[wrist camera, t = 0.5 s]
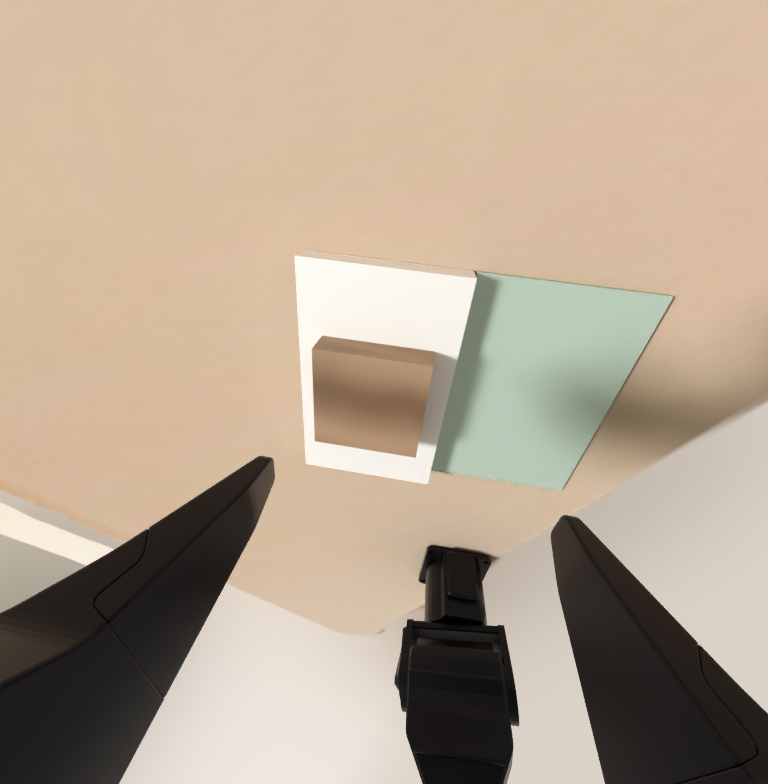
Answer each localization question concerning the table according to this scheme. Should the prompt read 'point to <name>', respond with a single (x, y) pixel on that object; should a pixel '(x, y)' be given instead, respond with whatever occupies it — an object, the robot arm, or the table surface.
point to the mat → (539, 375)
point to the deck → (382, 339)
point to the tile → (370, 394)
